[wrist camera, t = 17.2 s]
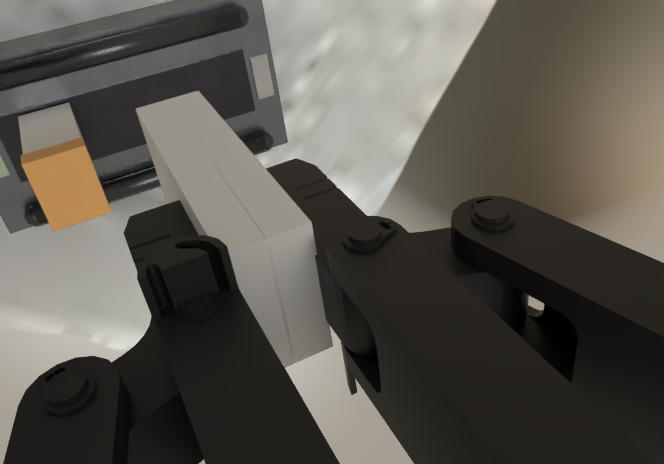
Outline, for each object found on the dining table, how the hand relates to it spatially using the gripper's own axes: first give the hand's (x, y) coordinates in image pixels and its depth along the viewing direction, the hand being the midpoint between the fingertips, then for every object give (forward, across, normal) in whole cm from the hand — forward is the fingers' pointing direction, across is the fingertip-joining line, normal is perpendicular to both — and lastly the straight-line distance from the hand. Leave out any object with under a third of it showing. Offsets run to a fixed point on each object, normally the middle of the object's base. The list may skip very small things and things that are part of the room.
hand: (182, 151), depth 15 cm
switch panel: (+29, +1, -9) cm, 31 cm away
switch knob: (+26, -4, -9) cm, 28 cm away
